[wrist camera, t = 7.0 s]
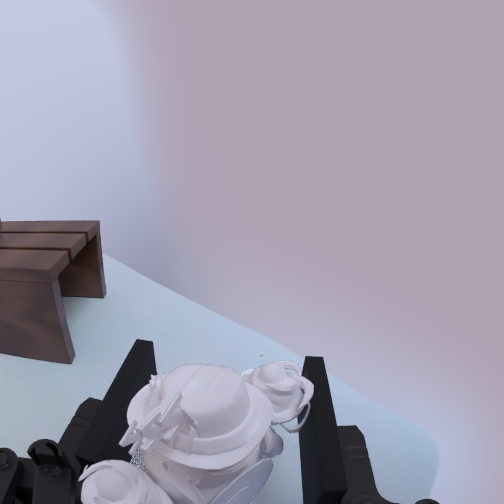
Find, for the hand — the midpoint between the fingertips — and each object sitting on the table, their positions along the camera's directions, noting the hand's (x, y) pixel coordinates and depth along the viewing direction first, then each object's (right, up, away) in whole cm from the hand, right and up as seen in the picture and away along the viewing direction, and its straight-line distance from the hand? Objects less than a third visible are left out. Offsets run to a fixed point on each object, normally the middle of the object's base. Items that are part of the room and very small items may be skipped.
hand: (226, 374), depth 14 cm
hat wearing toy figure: (-1, -8, -2) cm, 8 cm away
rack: (-21, -1, +12) cm, 24 cm away
